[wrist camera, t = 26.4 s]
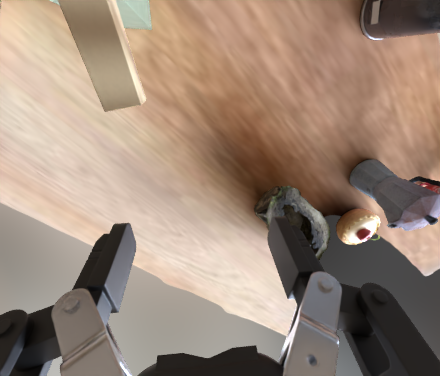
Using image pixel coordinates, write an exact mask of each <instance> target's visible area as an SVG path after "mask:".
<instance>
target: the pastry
mask: <svg viewBox="0 0 440 376" xmlns="http://www.w3.org/2000/svg"><path fill="white" fill-rule="evenodd" d="M379 223H380V219H379V217H378V216H377V215H376V214H374V213H373V212H371V211H369V210H365V209H353V210H350V211H348V212H347V213H345V214H344V215H343V216H341V218H340V219H339V221H338V222H337V225H336V231H337V234H338V237H339V238H340V239H341V240H342V241H343V242H344V243H346V244H357V243H362V242H364V241H367V240H368V239H369V238H371V236H372V235H375V232H376V231H377V230H378V227H379V226H380V224H379ZM379 238H380V236H379V235H378V238H377V239H379ZM377 239H370V240H377Z"/></svg>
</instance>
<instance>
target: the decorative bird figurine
mask: <svg viewBox="0 0 440 376" xmlns="http://www.w3.org/2000/svg"><path fill="white" fill-rule="evenodd" d="M419 185H420V186H423V185H427V186H426V187H425V188H427V189H429V190H431V191H434V192H436V193H438V194H439V195H440V187H439V186H436V185H432V184H429V183H427V182H426V183H421V184H419Z"/></svg>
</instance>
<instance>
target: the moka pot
mask: <svg viewBox="0 0 440 376" xmlns="http://www.w3.org/2000/svg"><path fill="white" fill-rule="evenodd" d="M416 181H421V182H427V183H429V184H432V185H436V186H439V187H440V182H439V181H435V180H430V179H426V178H423V177H420V176H418V177H415V178H413V179H411V180H409V181H408V180H406V179H401V178H399V177H398V176H397V175H396V174H394V173H393V172H392V171H390V170H389V169H388V168H387V167H386V166H385V165H383V164H382V163H381V162H380V161H378V160H376V159H370V160H366V161H363V162H362V163H360V164H358V165H357V166H356V167H355V168H354V169H353V171H352V172H351V175H350V184H351V185H352V186H354V187H355V188H356V189H358V190H360V191H361V192H363V193H365V194H366V195H368V196H370V197H371V198H373V199H374V200H375V201H377V203H378V204H379V205H380V206H381V207H382V209H383V210H384V213H385V215H386V218H387V221H388V225H387V226H388V227H390V228H400V227H402V228H403V229H404V230H406V231H409V230H414V229H419V228H423V227H425V226H426V225H428V224H430V225H433V224H436V223H437V222H438V219H437V218H438V217H439V216H440V195H439V194H438V193H436V192H434V191H431V190H429V189H427V188H425V187H422V186H420V185H417V184H415V183H414V182H416Z"/></svg>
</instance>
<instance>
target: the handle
mask: <svg viewBox="0 0 440 376" xmlns="http://www.w3.org/2000/svg"><path fill="white" fill-rule="evenodd" d="M58 2H59V4H60V7H61V9H62V11H63V14H64V16H65V18H66V21H67V23H68V26H69V28H70V30H71V33H72V35H73V37H74V40H75V42H76V45H77V47H78V49H79V52H80V54H81V56H82V59H83V61H84V64H85V66H86V68H87V71H88V73H89V75H90V78H91V80H92V83H93V85H94V87H95V90H96V92H97V94H98V97H99V99H100V102H101V104H102V106H103V109H104V111H105V112H108V111H113V110H119V109H124V108H130V107H135V106H141V105H142V104H143V103H144V102H145V101H146V96H145V93H144V90H143V87H142V84H141V80H140V77H139V74H138V71H137V67H136V64H135V61H134V58H133V55H132V51H131V48H130V45H129V42H128V38H127V35H126V32H125V29H124V25H123V22H122V19H121V16H120V13H119V9H118V6H117V3H116V0H58Z"/></svg>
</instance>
